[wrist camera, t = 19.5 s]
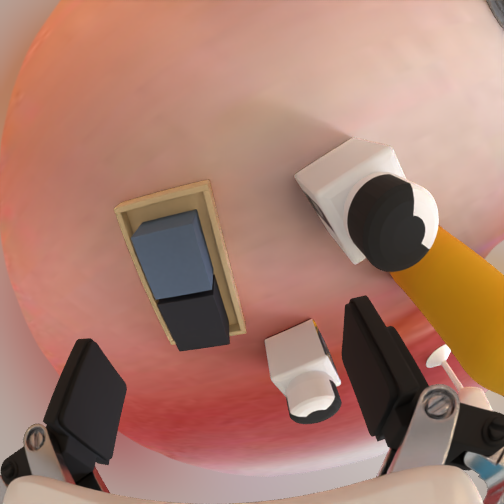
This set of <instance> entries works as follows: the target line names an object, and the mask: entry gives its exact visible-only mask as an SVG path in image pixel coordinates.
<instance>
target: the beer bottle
mask: <svg viewBox="0 0 504 504" xmlns="http://www.w3.org/2000/svg"><path fill="white" fill-rule="evenodd" d="M390 274H391V276H392V278H393V279H394V281H395V282H396V283H397V284H398V285H399V286H400V287H401V288H402V289H403V290H404V292H405V293H406V294H407V295H408V296H409V297H410V299H411V300H412V301H413V302H414V304H415V305H416V306H417V307H418V308H419V310H420V311H421V312H422V313H423V315H424V316H425V317H426V318H427V320H428V321H429V322H430V324H431V325H432V326H433V327H434V329H435V330H436V331H437V333H438V334H439V335H440V337H441V338H442V339H443V341H444V342H445V343H446V345H447V346H448V347H449V349H450V350H451V351H452V353H453V354H454V356H455V357H456V358H457V360H458V361H459V363H460V364H461V366H462V367H463V369H464V370H465V371H466V372H467V374H468V375H469V376H470V377H471V378H472V379H473V380H474V381H476V382H477V383H478V384H480V385H481V386H483V387H485V388H486V389H489V390H491V391H493V392H495V393H498V394H500V395H502V396H504V275H503V274H502V273H501V272H499V271H498V270H497V269H496V268H494V267H493V266H492V265H491V264H490V263H488V262H487V261H486V260H485V259H483V258H482V257H481V256H479V255H478V254H477V253H475V252H474V251H473V250H472V249H470V248H469V247H468V246H466V245H465V244H463V243H462V242H461V241H459V240H458V239H457V238H455V237H454V236H452V235H451V234H450V233H448V232H447V231H446V230H444V229H443V228H442V227H440V226H439V225H438V231H437V235H436V238H435V240H434V243H433V245H432V247H431V248H430V250H429V251H428V253H427V254H426V255H425V256H424V257H423V258H422V259H421V260H420V261H419V262H418V263H416V264H415V265H413V266H412V267H410V268H408V269H405V270H401V271H397V272H390Z"/></svg>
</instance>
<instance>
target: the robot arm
mask: <svg viewBox="0 0 504 504" xmlns="http://www.w3.org/2000/svg"><path fill="white" fill-rule="evenodd" d="M342 360H343V363H344V366H345V368H346V371H347V374H348V376H349V379H350V381H351V384H352V387H353V389H354V392H355V395H356V397H357V400H358V403H359V406H360V408H361V411H362V414H363V417H364V419H365V422H366V425H367V428H368V431H369V433H370V435H371V436H376V439H377V441H380V440H383V439H385V440H386V443H387V446H388V447H390V449H389V451H388V453H387V455H386V457H385V459H384V462H383V464H382V466H381V468H380V470H379V472H378V474H377V476H376V478H373V479H369V480H366V481H362V482H358V483H355V484H352V485H348V486H344V487H340V488H336V489H332V490H328V491H323V492H319V493H313V494H308V495H303V496H298V497H292V498H286V499H278V500H270V501H261V502H250V503H232V504H504V415H503V414H501V413H497V412H493V411H490V410H486V409H482V408H478V407H475V406H471V405H467V404H464V403H460V400H459V397H458V395H457V393H456V392H455V390H453V389H452V388H451V387H449V386H446V385H443V384H436V385H431V386H429V385H428V384H427V382H426V380H425V378H424V376H423V375H422V373H421V371H420V369H419V367H418V366H417V364H416V362H415V361H414V359H413V357H412V355H411V354H410V352H409V350H408V349H407V347H406V345H405V344H404V342H403V340H402V339H401V337H400V336H399V334H398V332H397V331H396V329H395V328H394V327H392V326H389V327H386V326H385V324H384V322H383V321H382V319H381V317H380V316H379V314H378V313H377V311H376V309H375V308H374V306H373V305H372V303H371V301H370V300H369V298H368V297H367V296H361V297H357V298H353V299H350V302H349V304H346V305H345V316H344V331H343V344H342ZM126 390H127V387H126V384H125V382H124V381H123V379H122V378H121V377H120V375H119V374H118V373H117V371H116V370H115V369H114V367H113V366H112V364H111V363H110V362H109V360H108V359H107V357H106V356H105V355H104V353H103V352H102V350H101V349H100V347H99V346H98V344H97V343H96V342H94V341H93V340H92V339H78V340H77V341H76V343H75V345H74V347H73V349H72V351H71V353H70V356H69V358H68V360H67V362H66V365H65V367H64V369H63V371H62V374H61V376H60V379H59V381H58V383H57V386H56V388H55V391H54V393H53V396H52V398H51V401H50V403H49V406H48V409H47V411H46V414H45V417H44V420H43V422H44V423H45V424H47V426H46V427H45V426H43V425H42V424H34V425H31V426H30V427H29V428H28V429H27V431H26V432H25V435H24V439H23V442H24V447H23V448H21V449H20V450H18V451H17V452H15V453H14V454H12V455H11V456H9V457H8V458H7V459H5V460H4V462H3V464H2V466H1V475H0V504H189V503H174V502H162V501H153V500H145V499H137V498H131V497H126V496H120V495H115V494H110V492H109V490H108V489H107V487H106V485H105V484H104V482H103V481H102V478H101V477H100V475H99V473H98V471H97V469H96V468H95V462H97V463H99V464H105V465H108V464H109V460H110V459H111V458H112V456H113V451H114V446H115V440H116V435H117V430H118V426H119V421H120V416H121V412H122V408H123V403H124V399H125V395H126ZM463 470H473V471H475V472H476V473H478V474H479V476H478V477H480V478H481V479H482V480H484V481H485V483H486V484H487V488H488V489H487V495H486V497H485V499H484V501H482V499H481V497H480V494H479V492H478V490H477V488H476V486H475V484H474V483H473V481H472V480H471V478H470V477H469V476H468V474H467V473H466V472H465V471H463ZM190 504H191V503H190Z"/></svg>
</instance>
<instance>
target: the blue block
mask: <svg viewBox="0 0 504 504" xmlns="http://www.w3.org/2000/svg"><path fill="white" fill-rule="evenodd" d="M131 240H132V243H133V246H134V248H135V251H136V253H137V256H138V259H139V261H140V264H141V266H142V269H143V271H144V274H145V276H146V278H147V281H148V283H149V286H150V288H151V290H152V293H153V295H154V297H155V299H156V300H157V299H163V298H169V297H175V296H180V295H186V294H191V293H197V292H202V291H208V290H212V283H213V270H214V269H213V265H212V262H211V258H210V255H209V251H208V248H207V244H206V241H205V237H204V233H203V230H202V226H201V222H200V219H199V215H198V211H197V209H195V210H191V211H186V212H182V213H178V214H174V215H169V216H165V217H161V218H157V219H153V220H149V221H145V222H142V223H141V225H140V226H139V227H138V229H137V230H136V231H135V233H134V234H133V236H132V237H131Z"/></svg>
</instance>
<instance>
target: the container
mask: <svg viewBox="0 0 504 504" xmlns="http://www.w3.org/2000/svg"><path fill="white" fill-rule="evenodd" d="M295 179H296V181H297V182H298V184H299V185H300V187H301V189H302V190H303V192H304V193H305V195H306V196H307V198H308V200H309V201H310V203H311V204H312V206H313V208H314V209H315V211H316V213H317V214H318V216H319V218H320V219H321V221H322V223H323V224H324V226H325V228H326V229H327V231H328V232H329V234H330V235H331V236H332V237H333V239H334V240H335V241H336V242H337V244H338V245H339V246H340V248H341V249H342V250H343V251H344V253H345V254H346V255H347V257H348V258H349V259H350V260H351V262H352V263H353V264H358V263H360V262H361V261H363V260H364V259H366V258H367V259H368V260H369V261H370V263H371V264H372V265H374V266H375V267H376V268H378V269H380V270H382V271H386V272H397V271H401V270H405V269H408V268H410V267H412V266H413V265H415V264H416V263H418V262H419V261H420V260H421V259H422V258H423V257H424V256H425V255H426V254H427V253H428V251H429V250H430V248H431V247H432V245H433V243H434V240H435V238H436V235H437V231H438V224H439V217H438V209H437V205H436V202H435V200H434V198H433V196H432V195H431V194H430V193H429V191H427V190H426V189H425V188H423V187H422V186H420V185H418V184H416V183H413V182H411V181H409V180H407V179H406V178H405V175H404V173H403V170H402V168H401V166H400V163H399V161H398V159H397V156H396V154H395V152H394V149H393V148H392V147H391V146H389V145H385V144H381V143H377V142H373V141H368V140H364V139H360V138H355V137H353V138H351V139H349V140H348V141H346V142H345V143H343V144H341V145H340V146H338V147H336V148H335V149H333V150H332V151H330V152H329V153H327V154H325V155H324V156H322V157H321V158H319V159H317V160H316V161H314V162H313V163H311V164H310V165H308V166H307V167H305V168H303V169H302V170H300V171H299V172H297V173H296V174H295Z"/></svg>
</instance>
